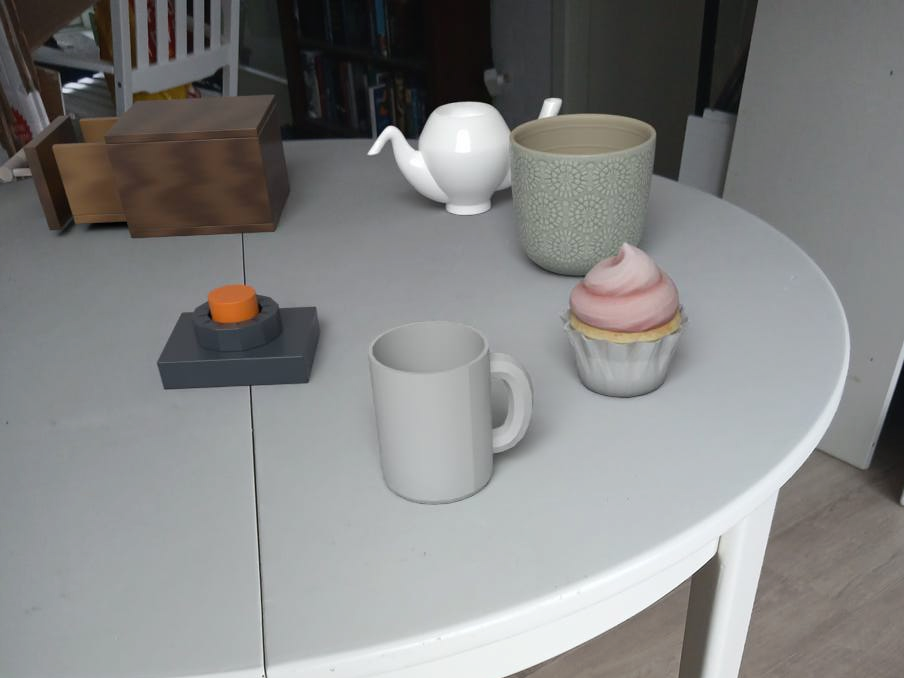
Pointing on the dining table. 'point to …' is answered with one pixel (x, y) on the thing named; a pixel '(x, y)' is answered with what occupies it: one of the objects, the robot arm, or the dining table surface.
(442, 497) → the cup
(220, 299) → the button
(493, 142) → the teapot
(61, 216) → the drawer
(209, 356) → the control block
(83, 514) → the dining table surface
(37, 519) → the dining table surface
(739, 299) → the dining table surface
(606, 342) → the cupcake
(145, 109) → the cabinet
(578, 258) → the planter
